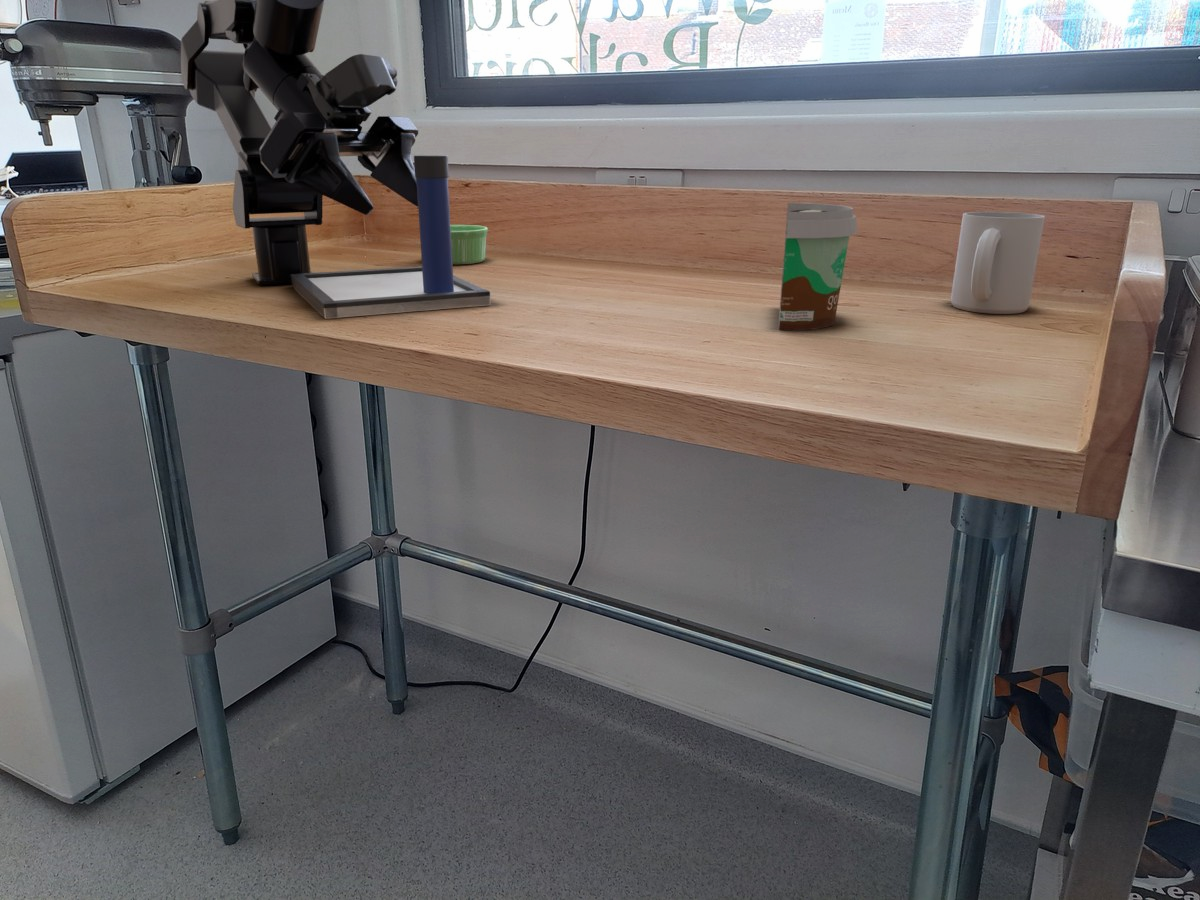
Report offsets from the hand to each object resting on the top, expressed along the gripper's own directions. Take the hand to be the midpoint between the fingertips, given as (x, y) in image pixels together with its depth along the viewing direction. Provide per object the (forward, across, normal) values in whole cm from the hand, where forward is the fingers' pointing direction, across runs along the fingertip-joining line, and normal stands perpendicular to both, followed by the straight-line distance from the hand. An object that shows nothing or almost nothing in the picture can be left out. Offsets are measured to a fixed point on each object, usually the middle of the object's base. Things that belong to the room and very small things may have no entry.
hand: (398, 208), depth 85 cm
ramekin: (-1, +27, +14) cm, 30 cm away
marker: (+9, 0, +3) cm, 9 cm away
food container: (+35, +5, -22) cm, 42 cm away
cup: (+46, +18, -33) cm, 59 cm away
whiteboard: (+4, +1, +8) cm, 10 cm away
